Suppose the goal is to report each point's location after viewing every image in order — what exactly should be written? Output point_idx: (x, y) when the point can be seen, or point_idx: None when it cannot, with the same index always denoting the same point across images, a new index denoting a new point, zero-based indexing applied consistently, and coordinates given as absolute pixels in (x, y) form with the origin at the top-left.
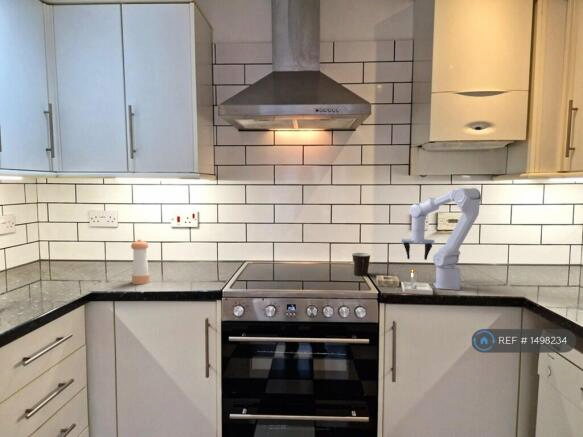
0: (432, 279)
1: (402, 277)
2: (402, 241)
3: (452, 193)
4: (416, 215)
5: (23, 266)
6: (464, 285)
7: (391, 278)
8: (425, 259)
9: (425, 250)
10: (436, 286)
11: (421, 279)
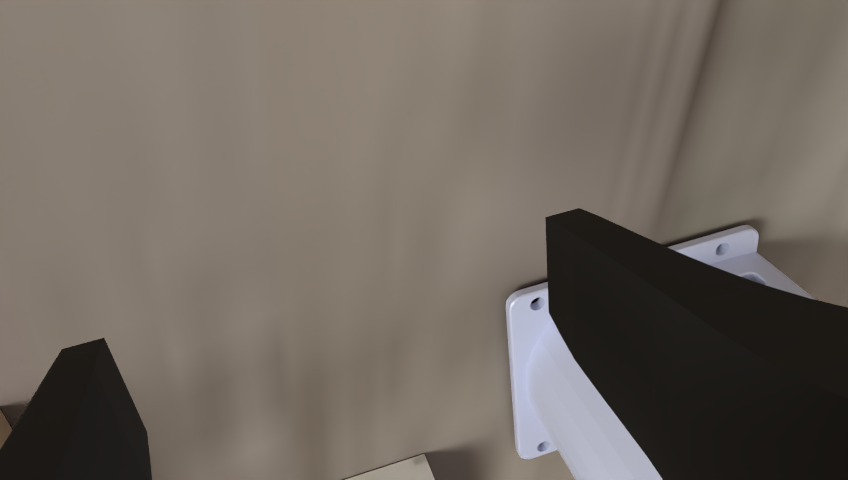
0: (531, 28)
1: (3, 103)
2: None
3: None
4: None
5: None
6: (844, 177)
7: None
8: (561, 317)
9: (704, 429)
10: (524, 426)
11: (359, 105)
